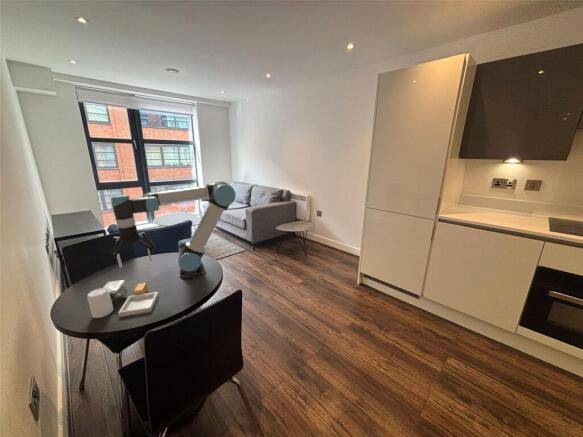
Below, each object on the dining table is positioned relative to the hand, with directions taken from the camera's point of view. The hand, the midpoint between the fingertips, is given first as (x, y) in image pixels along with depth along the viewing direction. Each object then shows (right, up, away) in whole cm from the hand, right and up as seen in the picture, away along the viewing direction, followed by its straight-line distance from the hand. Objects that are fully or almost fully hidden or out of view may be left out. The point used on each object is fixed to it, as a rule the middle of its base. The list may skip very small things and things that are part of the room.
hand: (136, 263), depth 123 cm
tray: (+5, -21, -5) cm, 22 cm away
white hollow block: (-11, -19, +1) cm, 22 cm away
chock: (0, -18, +5) cm, 19 cm away
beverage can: (-9, -23, -10) cm, 27 cm away
